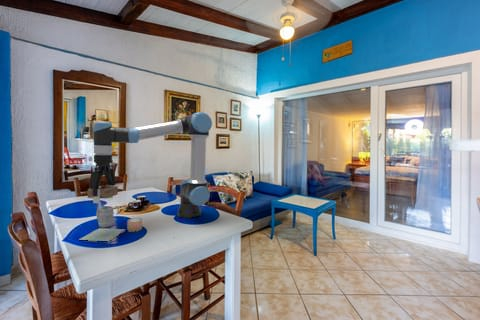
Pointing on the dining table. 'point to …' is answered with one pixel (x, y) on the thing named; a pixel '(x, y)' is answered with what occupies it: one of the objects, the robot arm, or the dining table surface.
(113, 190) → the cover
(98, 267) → the dining table surface
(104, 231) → the mat
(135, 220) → the bowl
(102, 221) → the mug
